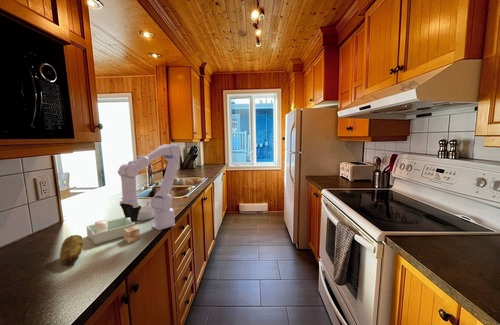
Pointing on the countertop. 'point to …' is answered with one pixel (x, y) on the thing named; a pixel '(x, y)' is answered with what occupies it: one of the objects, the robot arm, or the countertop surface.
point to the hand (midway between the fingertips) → (131, 219)
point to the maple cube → (131, 234)
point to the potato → (71, 249)
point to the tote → (109, 230)
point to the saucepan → (146, 212)
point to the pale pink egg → (101, 226)
